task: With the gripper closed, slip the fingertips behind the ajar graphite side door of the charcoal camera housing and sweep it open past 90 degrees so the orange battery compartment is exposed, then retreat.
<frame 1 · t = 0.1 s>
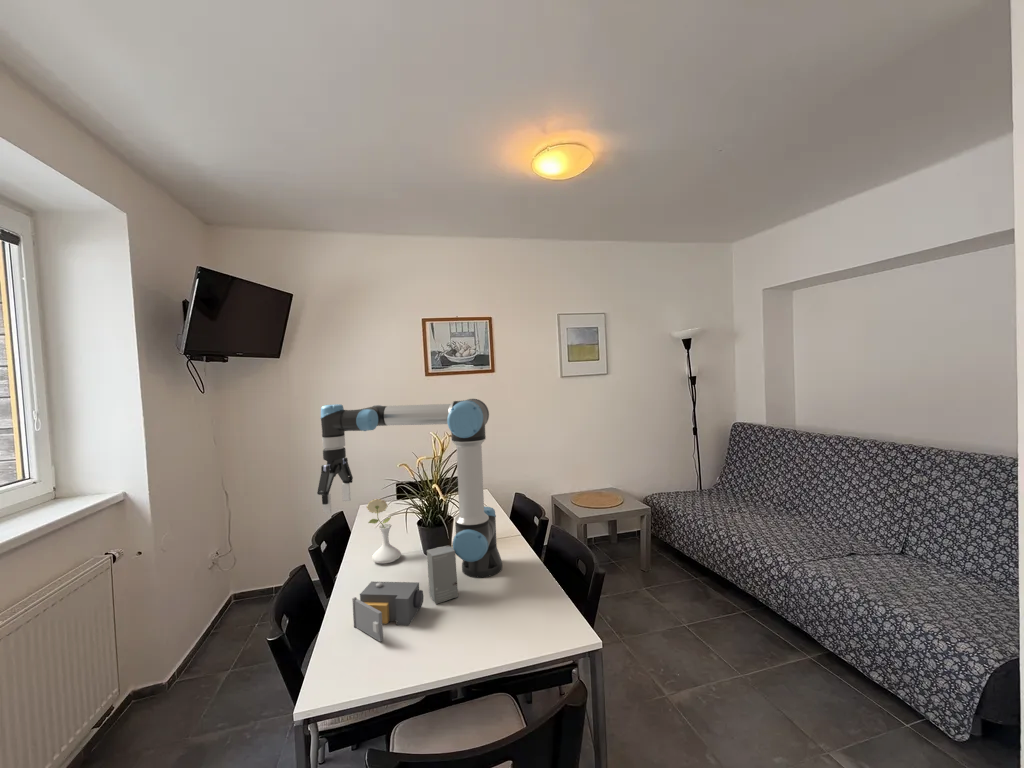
hand: (337, 506, 158), 28 cm above the table, fingers open, 13 cm apart
skincare box: (444, 596, 147), on the table, touching arm
housing: (390, 615, 137), on the table
door: (367, 620, 127), point 4 cm above the table, hinge at 32.0°
flower in vase: (384, 560, 177), on the table
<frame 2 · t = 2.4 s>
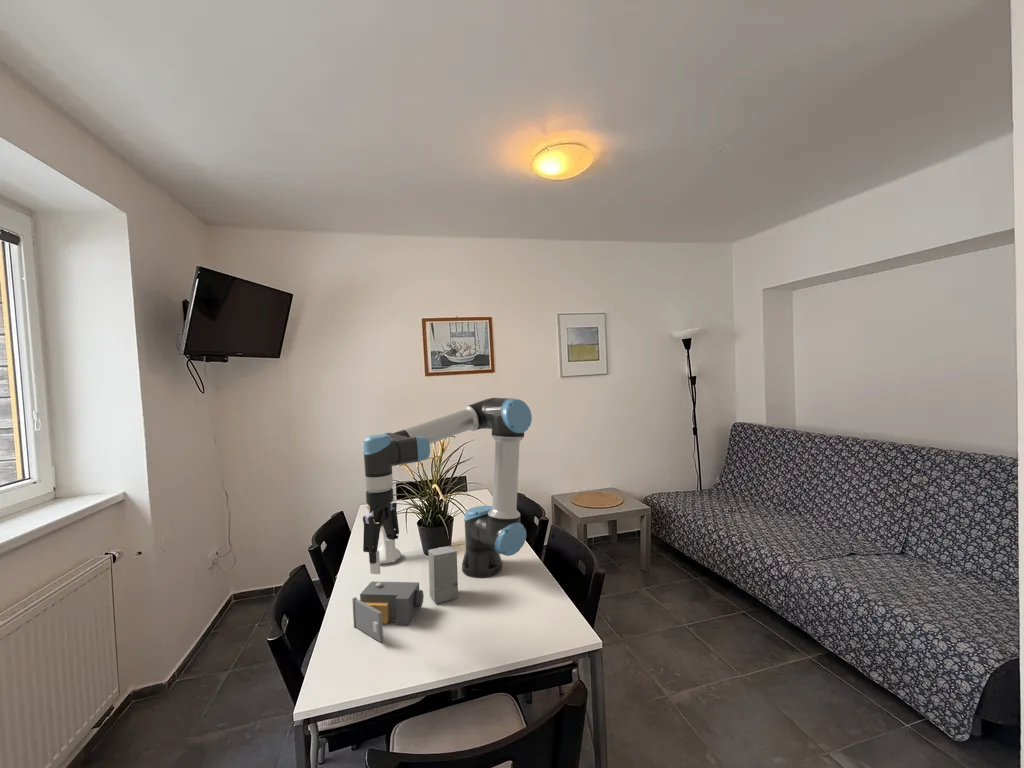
hand: (383, 567, 128), 19 cm above the table, fingers open, 7 cm apart
skincare box: (444, 597, 147), on the table
everything else where it was.
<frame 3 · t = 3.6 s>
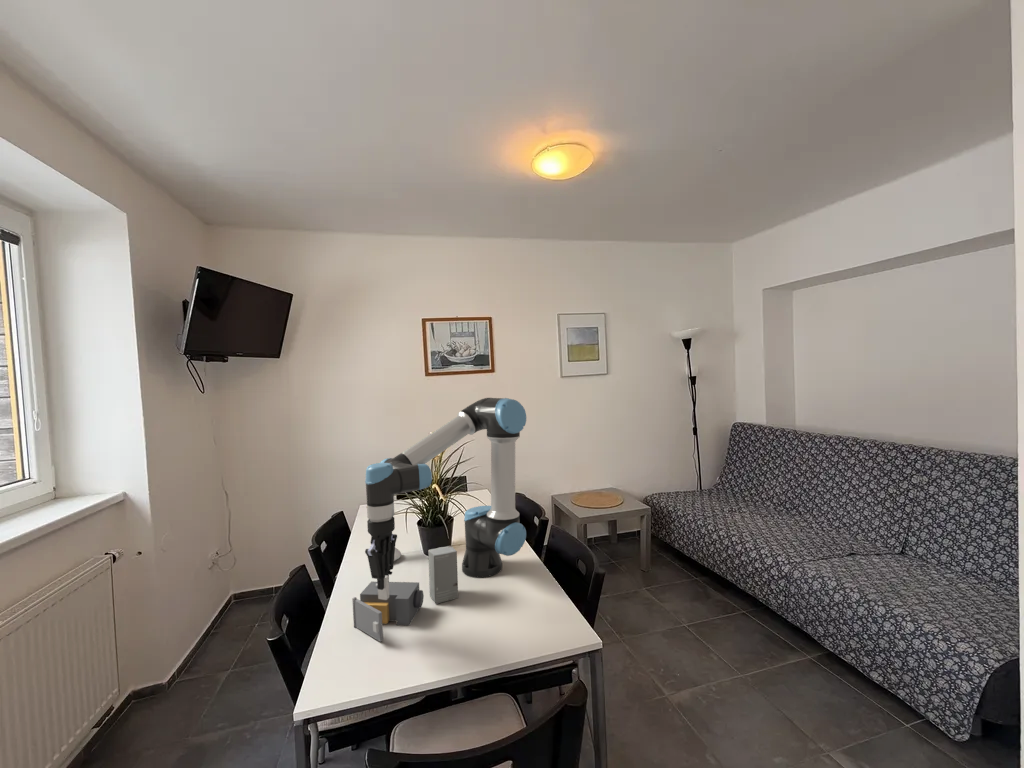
hand: (383, 598, 128), 10 cm above the table, fingers closed
nothing on the table moved.
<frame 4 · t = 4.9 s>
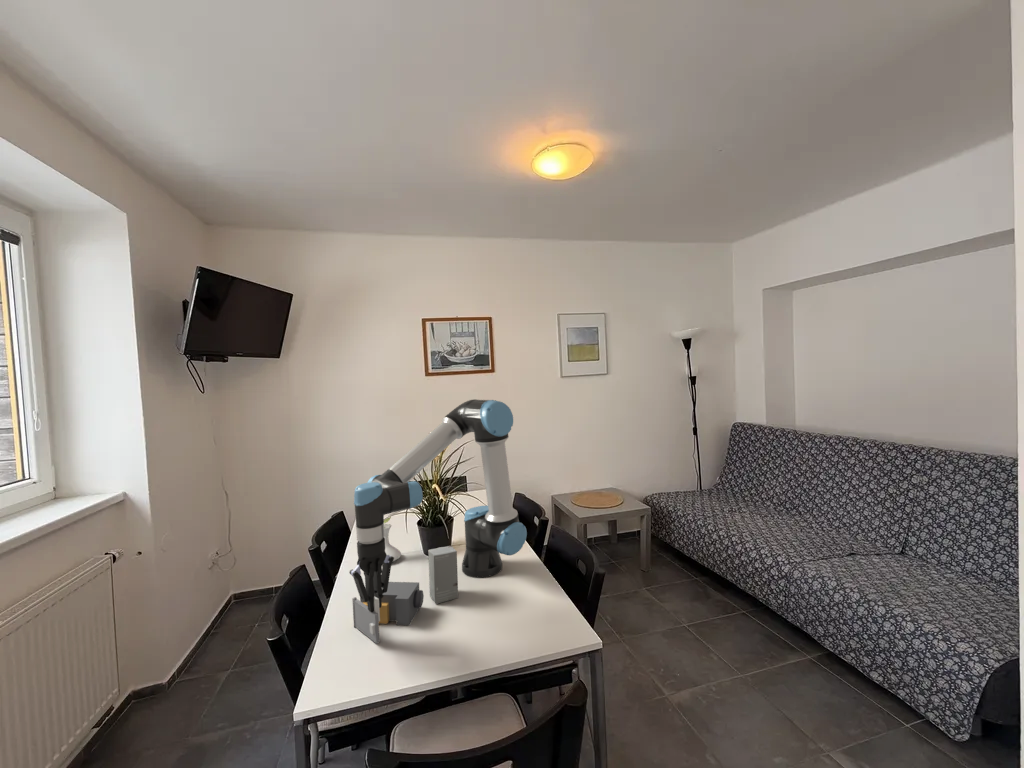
hand: (375, 620, 125), 5 cm above the table, fingers closed
door: (365, 621, 126), point 4 cm above the table, hinge at 37.0°, touching gripper
everything else where it was.
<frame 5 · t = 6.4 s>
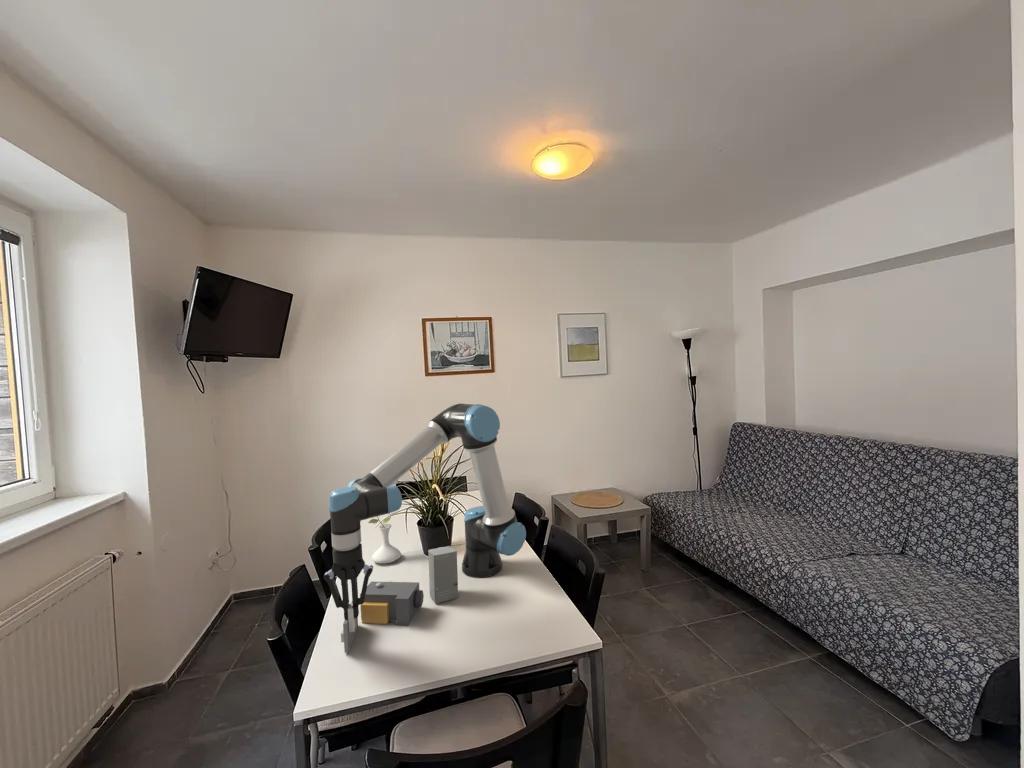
hand: (352, 629, 122), 5 cm above the table, fingers closed
door: (348, 625, 124), point 4 cm above the table, hinge at 74.4°, touching gripper
everything else where it was.
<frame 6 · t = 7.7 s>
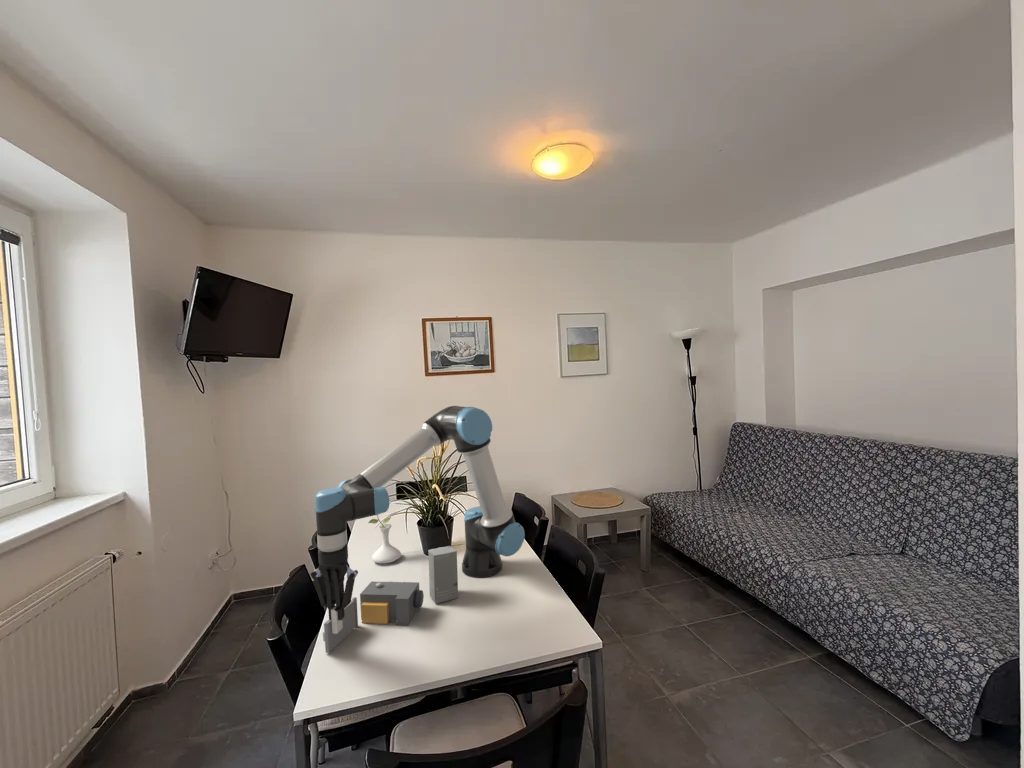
hand: (337, 630, 121), 5 cm above the table, fingers closed
door: (339, 625, 125), point 4 cm above the table, hinge at 98.3°, touching gripper
everything else where it was.
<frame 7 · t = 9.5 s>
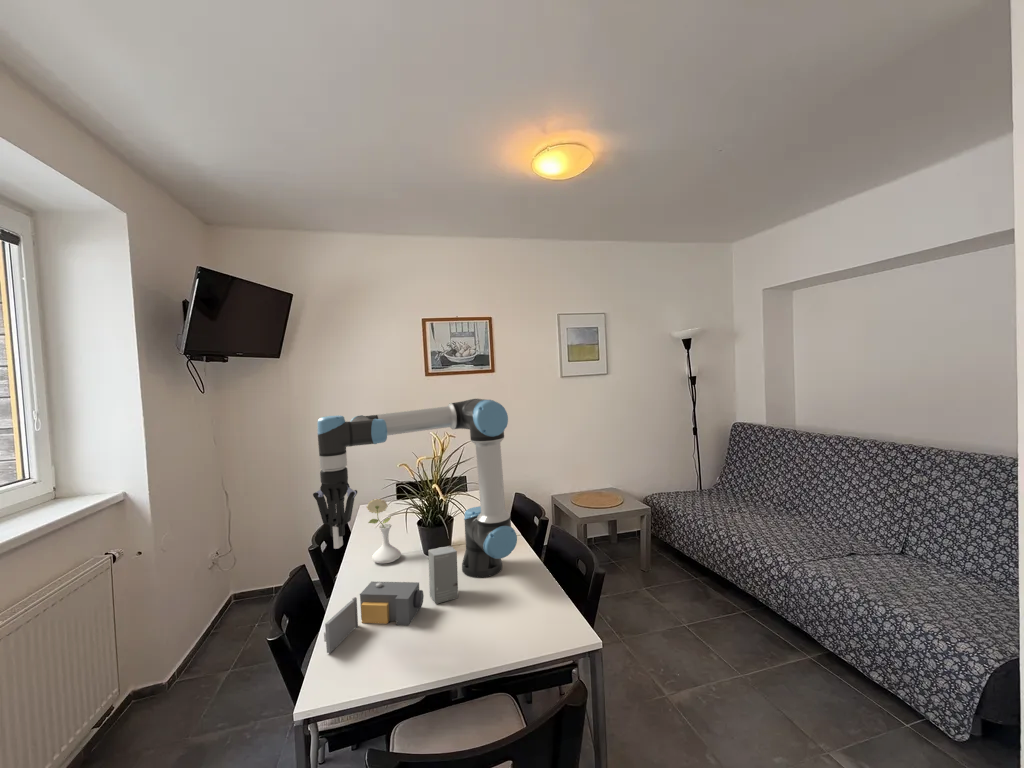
hand: (338, 546, 131), 24 cm above the table, fingers closed
door: (339, 625, 125), point 4 cm above the table, hinge at 96.6°
everything else where it was.
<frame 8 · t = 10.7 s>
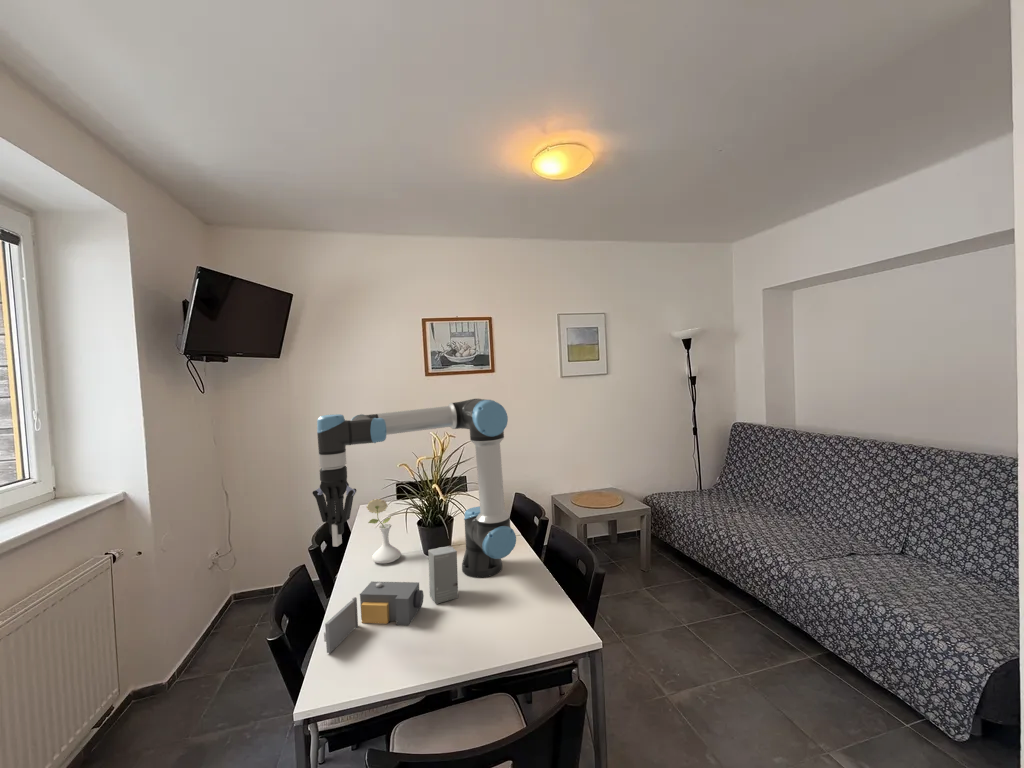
hand: (337, 544, 132), 24 cm above the table, fingers closed
nothing on the table moved.
at the end: door at +97° (first picture: +32°) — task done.
